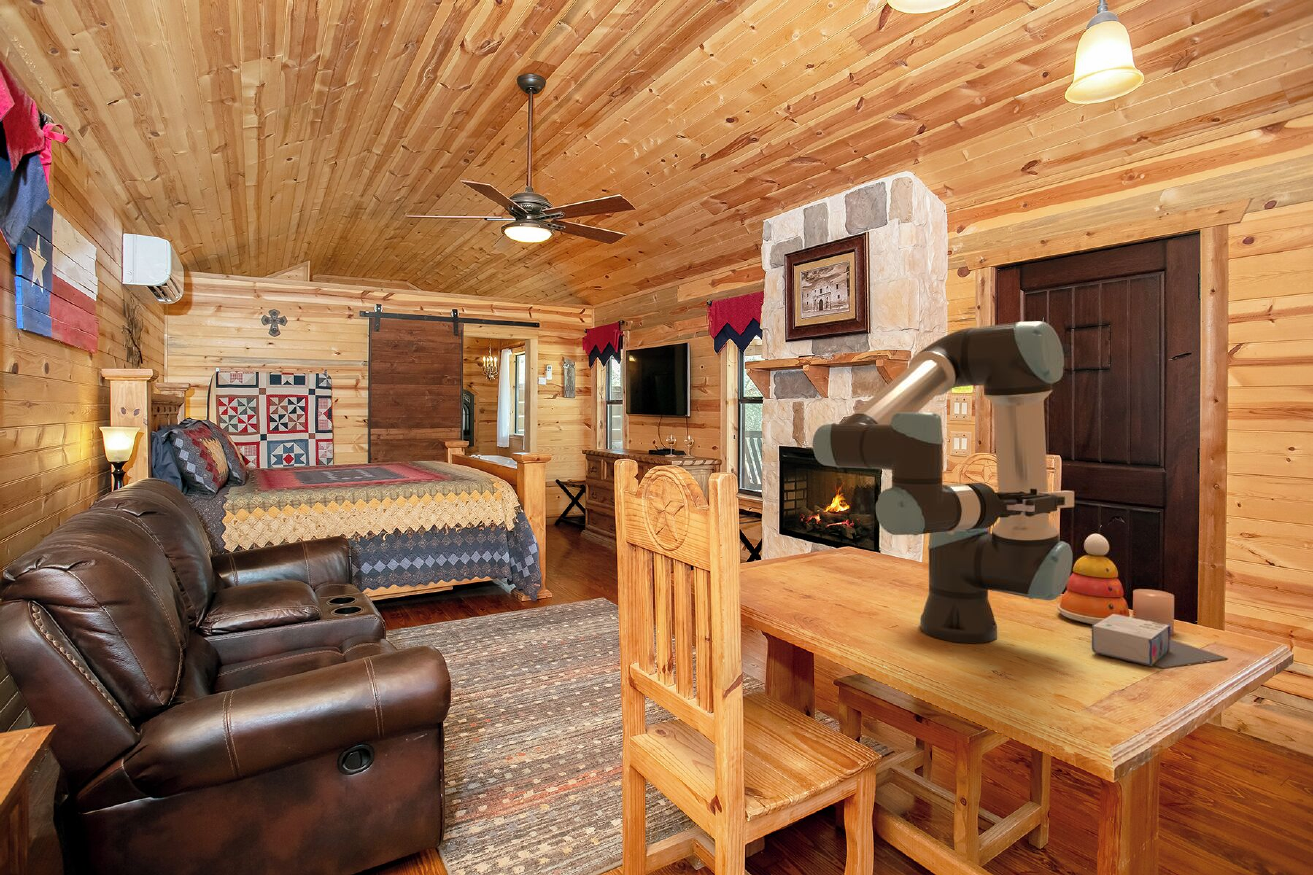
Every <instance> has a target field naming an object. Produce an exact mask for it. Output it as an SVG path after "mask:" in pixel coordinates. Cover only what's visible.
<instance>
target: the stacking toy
mask: <svg viewBox="0 0 1313 875" xmlns="http://www.w3.org/2000/svg"><path fill="white" fill-rule="evenodd" d="M1083 547H1084V551H1086V553H1087V554H1085V555H1083V556H1081V557H1079V558H1078V559H1077V560H1076V561H1075V563H1074V565H1073V568H1072V571H1073V573H1071V574H1070V576H1069V579H1068V582H1067V585H1066V589H1065V592H1064V593H1063V595H1062V596H1061V599H1060V602H1059V603H1058V604H1057V605H1056V606H1057V611H1058V612H1059V613H1060V615H1062V616H1064V617H1066V618H1068V619H1069V620H1074V621H1077V622H1082V623H1086V624H1090V625H1092V626H1093V625H1095V624H1097V623H1099V622H1100V621H1102V620H1104V619H1105V618H1107V617H1109V616H1111V615H1112V614H1117V615H1122V616H1126V617H1133V613H1131V612H1130V611H1129V606H1128V603H1127V601H1126V599H1125V598H1124V597H1123V596H1124V588H1123V586H1122V585H1123V584H1122V583H1121V581H1120V580H1119V578H1118V577H1119V571H1118V569H1117V567H1116V565H1115V564H1114V562H1113V561H1112V560H1110V559H1109V558H1108V557H1106V556H1105V555H1107V554H1108V552H1109V550H1110V544H1109V541H1108V540H1107V538H1106V537H1104V536H1103V535H1101V534H1099V533H1092V534H1090V535H1088V537H1086V539H1085V540H1084V543H1083Z"/></svg>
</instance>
